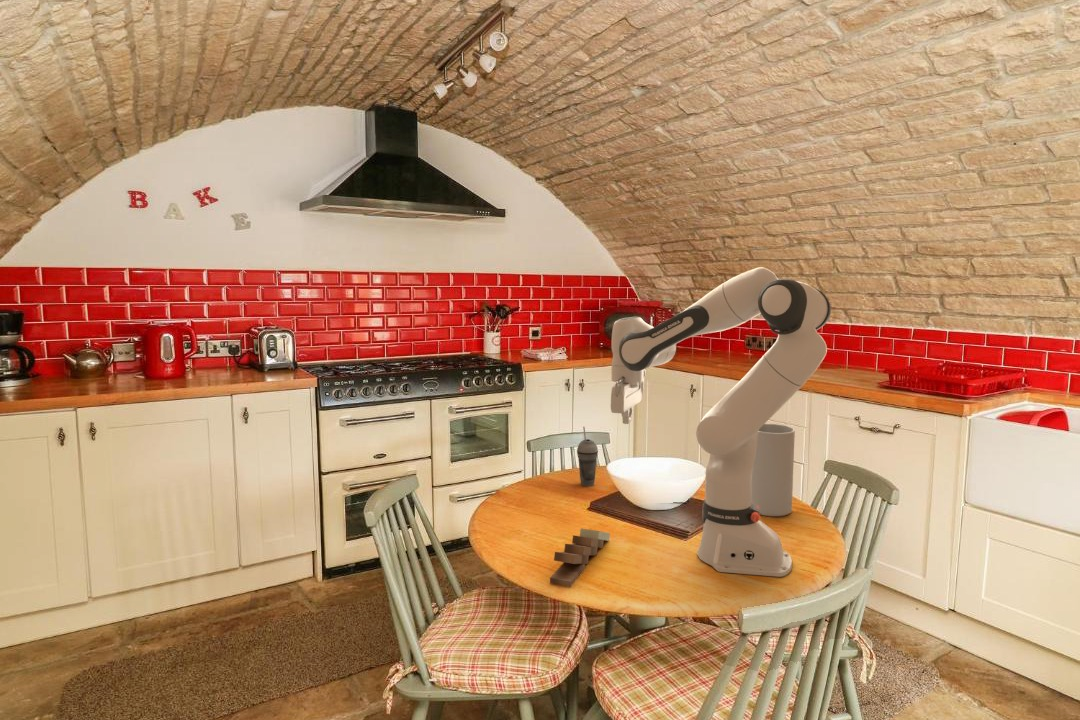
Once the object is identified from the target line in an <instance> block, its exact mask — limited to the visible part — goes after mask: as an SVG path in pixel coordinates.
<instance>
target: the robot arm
mask: <svg viewBox="0 0 1080 720" xmlns="http://www.w3.org/2000/svg"><path fill="white" fill-rule="evenodd" d="M759 315H761V316H762V317H763V318H764V321H766V323H767V325H768V327H769V329H770V330H771V332H772V333H773V334H776V335H777V338H776V340H775V342H774V343H773V345H772V346H771V347H770V348H769V349H768V350H767V351H766V352H765V353H764V354H763V355H762V357H761V358H759V360H758V361H757V362H756V363H755V364H754V365H753V366H752V367H751V368H750V369H749V371H748V372H747V373H746V374H745V375H743V377H742V378H741V379H740V380H739V381H738V382H737V383H736V384H735V385H734V386H733V387H732V388H730V389H729V390H728V392H727V393H725V394H724V395H723V396H722V398H720V399H719V400H718V401H717V402H716V404H714V406H712V407H711V408H710V409H709V411H708V412H706V414H705V415H704V416H703V417H702V418H701V420H700V422H699V424H698V425H697V427H696V440H697V442H698V444H699V446H700V447H701V448H702V449H703V451H705V453H707V454H710V455H709V459H708V463H707V466H706V468H705V481H704V482H705V484H704V485H705V487H704V492H705V493H704V500H703V502H702V523H703V527H702V535H701V538H700V542H699V543H700V544H699V547H698V550H697V552H696V553H697V557H698V558H699V560H701V561H702V562H703V563H705V564H707V565H709V566H712V568H713V569H714V570H716V571H717V572H719V573H726V574H727V573H729V574H730V573H731V574H740V575H741V574H743V575H752V576H753V575H754V576H765V577H767V576H768V577H779V578H781V577H782V578H783V577H785V576H787V575H788V574H789V573H790V572H791V571H792V569H793V560H792V556H791V555H790V554H789V553H788V552H787V551H786V550H785V551H784V549H783V544H782V541H781V538H780V536H779V534H778V533H777V532H775V531H774V530H773V529H772V528H771V527H769V526H768V525H767V524H765V523H764V522H763V521H762V520H761V519H760V518H761V515H760V511H759V506H758V505H757V507H756V506H755V505H753V504H752V503H751V488H752V471H753V464H754V459H755V453H756V447H757V439H758V431H759V429H760V428H761V427H762V426H763V425H764V424H767V422H768V421H769V420H770V419H771V418H772V417H773V416H775V414H776V413H777V412H779V410H780V409H782V407H784V405H785V404H786V403H788V401H790V399H792V397H793V396H794V395H795V394H796V393H797V392H798V391H799V390H800V389H801V388H802V387H803V386H804V385H805V384H806V383H807V382H808V380H809V379H810V378H811V377H812V376H813V374H814V373H815V372H816V371H817V369H818V368H819V367H820V365H821V364H822V363H823V360H824V359H825V357H826V356H827V352H828V347H827V344H826V341H825V340H824V338H823V337H822V335H820V334H819V332H818V330H819V329H821V328H823V327H824V326H825V325H827V322H828V321H829V319H830V318H831V317H830V316H831V315H832V305H831V302H830V299H829V298H828V297H827V296H826V295H825V294H824V293H823V292H822V291H821V290H819V289H817V288H814V287H813V286H811V285H810V284H807V283H805V282H801V281H796V280H794V279H792V278H791V279H790V278H778V277H777V275H776V274H775V273H774V272H773V271H772V270H770V269H769V268H766V267H762V266H761V267H756V268H752V269H750V270H747V271H744V272H742V273H739V274H738V275H735V276H734V277H732V278H730V279H728V280H726V281H725V282H723V283H721V284H720V285H718V286H716V287H715V288H714V289H712V290H711V291H710V292H707V294H705V295H704V296H702V297H701V298H700V299H699V300H697V301H695V302H694V303H693V304H691V305H690V306H688V307H687V308H685V309H684V310H682V311H681V312H679V313H678V314H676V315H673V316H672V317H670V318H669V319H667V320H665V321H663V322H661V323H659V324H658V325H656V326H652V325H650V324H648V322H645V321H644V320H643V318H642V317H640V316H631V317H629V316H628V317H623V318H619V319H617V320H615V322H614V323H613V326H612V331H611V352H612V360H611V382H614V383H615V384H613V385H612V387H611V390H610V391H611V393H610V411H611V413H612V414H621V417H622V424H624V425H628V424H631V422H632V419H633V417H632V415H633V411H634V407H635V406H636V405H637V404H639V403H641V402H642V400H643V396H644V385H645V378H646V376H647V372H646V369H648V368H649V369H650V368H652V367H656V366H657V367H658V366H661V365H664V364H667V363H670V362H671V361H672V360H673V359H674V357H675V355H676V353H677V344H678V343H680V342H682V341H684V340H686V339H689V338H693V337H695V336H699V335H705V334H706V335H707V334H712V333H717V332H718V333H719V332H724V331H726V330H730V329H733V328H736V327H739V326H741V325H742V324H745V323H747V322H748V321H750V320H752V319H753V318H755V317H758V316H759Z"/></svg>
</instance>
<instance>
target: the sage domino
mask: <svg viewBox="0 0 1080 720" xmlns="http://www.w3.org/2000/svg"><path fill="white" fill-rule="evenodd" d="M579 536H581V537H587V538H594V539H600V540H604V541H608V542H609V541H610V536H611V533H610V532H606V531H601V530H593V529H586V528H580V532H579Z"/></svg>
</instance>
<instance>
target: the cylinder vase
mask: <svg viewBox="0 0 1080 720" xmlns="http://www.w3.org/2000/svg"><path fill="white" fill-rule="evenodd" d="M795 433H796V430H795V428H794V427H791V426H789V425H784V424H778V423H765V424H764V425H763V426H762V427H761V428H760V429H759V431H758V439H757V447H756V453H755V459H754V464H753V471H752V488H751V503H752V504H753V505H755V506H756V507H757V505H758V506H759V511H760V516H765V517H784V516H787V515H789V514H791V513H792V510H793V489H794V488H793V487H794V486H793V485H794V463H795V460H794V459H795V437H796V435H795Z"/></svg>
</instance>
